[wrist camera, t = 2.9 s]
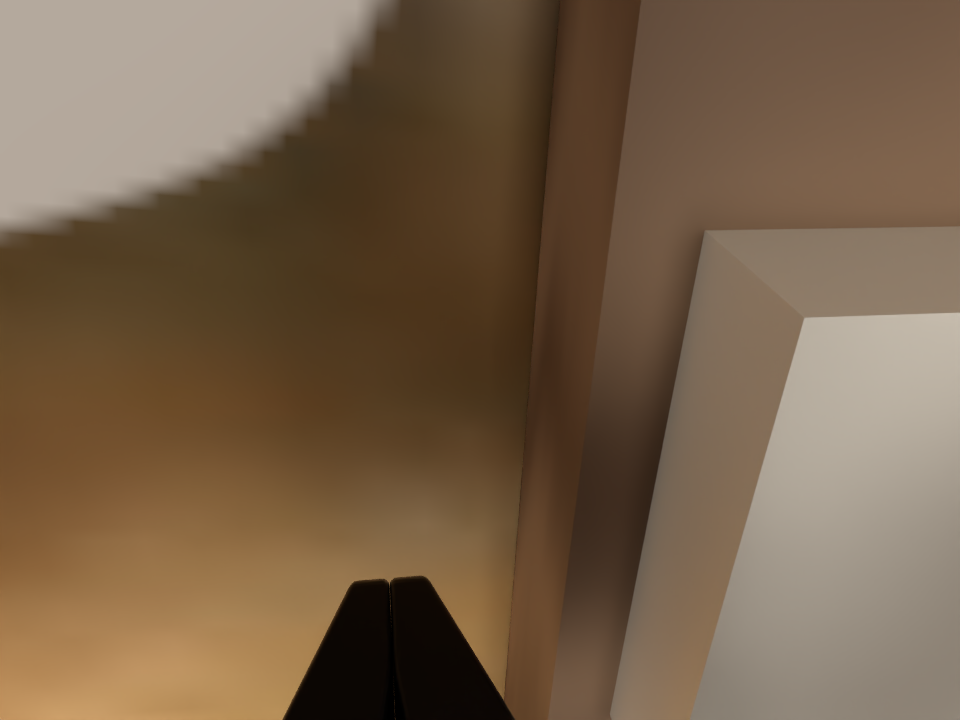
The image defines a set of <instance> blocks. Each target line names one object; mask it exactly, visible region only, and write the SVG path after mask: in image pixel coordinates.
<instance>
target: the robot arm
mask: <svg viewBox="0 0 960 720" xmlns="http://www.w3.org/2000/svg"><path fill="white" fill-rule="evenodd" d="M390 604H391V610H390ZM391 630H392V632H391ZM393 680H394V681H393ZM394 702H395V706H394ZM283 720H515V718H514V717H513V715H512V713H511V712H510V710H509V708H508V707H507V705H506V704H505V702H504V700H503V699H502V697H501V695H500V694H499V692H498V691H497V689H496V687H495V686H494V684H493V683H492V681H491V679H490V678H489V676H488V674H487V673H486V671H485V670H484V668H483V666H482V665H481V663H480V662H479V660H478V658H477V657H476V655H475V653H474V652H473V650H472V649H471V647H470V645H469V644H468V642H467V641H466V639H465V637H464V636H463V634H462V632H461V631H460V629H459V628H458V626H457V624H456V623H455V621H454V619H453V618H452V616H451V615H450V613H449V611H448V610H447V608H446V607H445V605H444V603H443V602H442V600H441V598H440V597H439V595H438V594H437V592H436V590H435V589H434V587H433V586H432V584H431V582H430V581H429V580H428V579H427V578H426V577H424V576H411V577H398V578H394V579H393V580H391V582H390V588H389V583H388V581H387V580H385V579H373V580H361V581H355V582H353V583H352V584H351V585H350V587H349V588H348V590H347V592H346V594H345V596H344V598H343V600H342V602H341V604H340V606H339V608H338V610H337V612H336V614H335V616H334V618H333V620H332V622H331V624H330V626H329V628H328V630H327V632H326V634H325V636H324V638H323V640H322V642H321V644H320V646H319V648H318V650H317V652H316V654H315V656H314V658H313V660H312V662H311V664H310V666H309V668H308V670H307V672H306V674H305V676H304V678H303V680H302V682H301V684H300V686H299V688H298V690H297V692H296V694H295V696H294V698H293V700H292V702H291V704H290V706H289V708H288V710H287V712H286V714H285V716H284V718H283Z"/></svg>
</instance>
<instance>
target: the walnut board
mask: <svg viewBox="0 0 960 720" xmlns="http://www.w3.org/2000/svg"><path fill="white" fill-rule="evenodd" d="M954 226H960V0H560V7H559V19H558V32H557V44H556V57H555V69H554V82H553V95H552V107H551V120H550V132H549V145H548V157H547V170H546V182H545V195H544V208H543V220H542V233H541V245H540V258H539V270H538V283H537V295H536V308H535V320H534V333H533V346H532V358H531V371H530V383H529V396H528V408H527V421H526V433H525V446H524V459H523V471H522V484H521V496H520V509H519V521H518V534H517V546H516V559H515V572H514V584H513V597H512V609H511V622H510V634H509V647H508V659H507V672H506V685H505V697H504V702H505V704H506V705H507V707H508V708H509V710H510V712H511V713H512V715H513V717H514V718H515V720H611V716H610V711H611V706H612V701H613V696H614V690H615V685H616V680H617V675H618V670H619V665H620V660H621V655H622V650H623V645H624V640H625V634H626V629H627V624H628V619H629V614H630V609H631V604H632V599H633V594H634V589H635V584H636V578H637V573H638V568H639V563H640V558H641V553H642V548H643V543H644V538H645V533H646V528H647V522H648V517H649V512H650V507H651V502H652V497H653V492H654V487H655V482H656V477H657V472H658V466H659V461H660V456H661V451H662V446H663V441H664V436H665V431H666V426H667V421H668V415H669V410H670V405H671V400H672V395H673V390H674V385H675V380H676V375H677V370H678V365H679V359H680V354H681V349H682V344H683V339H684V334H685V329H686V324H687V319H688V314H689V309H690V303H691V298H692V293H693V288H694V283H695V278H696V273H697V268H698V263H699V258H700V253H701V247H702V242H703V237H704V232H705V230H763V229H827V228H891V227H954Z"/></svg>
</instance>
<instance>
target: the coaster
mask: <svg viewBox="0 0 960 720" xmlns="http://www.w3.org/2000/svg"><path fill="white" fill-rule="evenodd" d="M610 716H611V720H960V226H954V227H891V228H827V229H763V230H705V232H704V237H703V242H702V247H701V253H700V258H699V263H698V268H697V273H696V278H695V283H694V288H693V293H692V298H691V303H690V309H689V314H688V319H687V324H686V329H685V334H684V339H683V344H682V349H681V354H680V359H679V365H678V370H677V375H676V380H675V385H674V390H673V395H672V400H671V405H670V410H669V415H668V421H667V426H666V431H665V436H664V441H663V446H662V451H661V456H660V461H659V466H658V472H657V477H656V482H655V487H654V492H653V497H652V502H651V507H650V512H649V517H648V522H647V528H646V533H645V538H644V543H643V548H642V553H641V558H640V563H639V568H638V573H637V578H636V584H635V589H634V594H633V599H632V604H631V609H630V614H629V619H628V624H627V629H626V634H625V640H624V645H623V650H622V655H621V660H620V665H619V670H618V675H617V680H616V685H615V690H614V696H613V701H612V706H611V711H610Z"/></svg>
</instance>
